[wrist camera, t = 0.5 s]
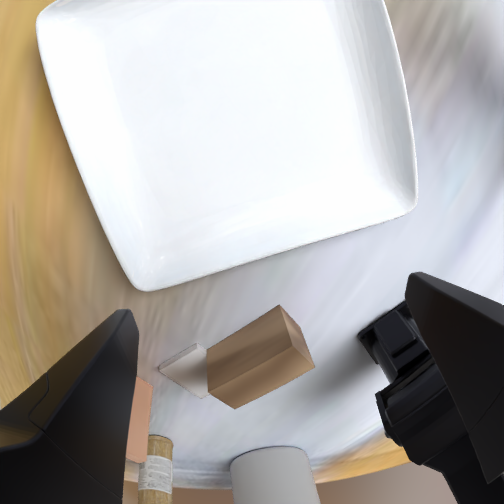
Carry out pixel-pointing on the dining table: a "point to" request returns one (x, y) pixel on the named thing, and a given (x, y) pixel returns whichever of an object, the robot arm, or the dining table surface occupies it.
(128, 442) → the ceramic tile
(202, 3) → the salad plate
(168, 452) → the sprinkles bottle
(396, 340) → the robot arm
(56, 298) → the dining table surface
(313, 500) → the cylinder vase
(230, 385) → the tall cardboard box
